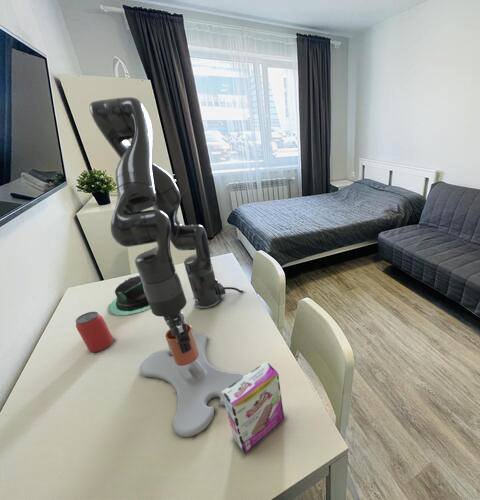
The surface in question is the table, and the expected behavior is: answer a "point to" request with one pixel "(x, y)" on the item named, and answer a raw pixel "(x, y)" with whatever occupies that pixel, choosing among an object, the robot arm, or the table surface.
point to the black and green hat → (129, 297)
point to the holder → (190, 386)
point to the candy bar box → (254, 405)
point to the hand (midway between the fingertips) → (183, 344)
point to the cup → (176, 351)
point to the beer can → (94, 331)
